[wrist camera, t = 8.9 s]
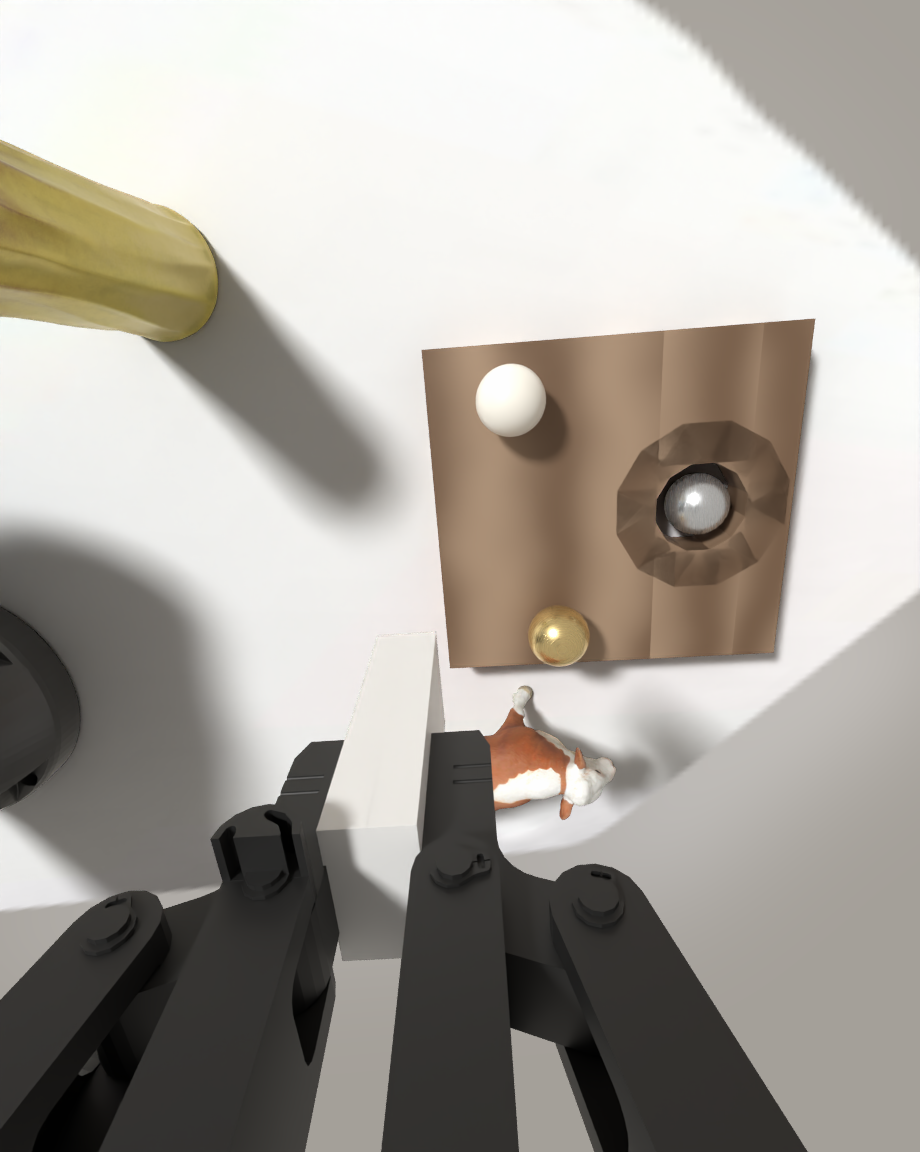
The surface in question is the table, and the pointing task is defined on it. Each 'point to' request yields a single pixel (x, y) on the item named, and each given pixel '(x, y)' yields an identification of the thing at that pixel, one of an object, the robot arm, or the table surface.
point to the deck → (618, 491)
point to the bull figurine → (541, 765)
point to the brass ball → (558, 635)
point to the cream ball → (510, 400)
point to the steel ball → (697, 503)
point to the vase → (97, 255)
